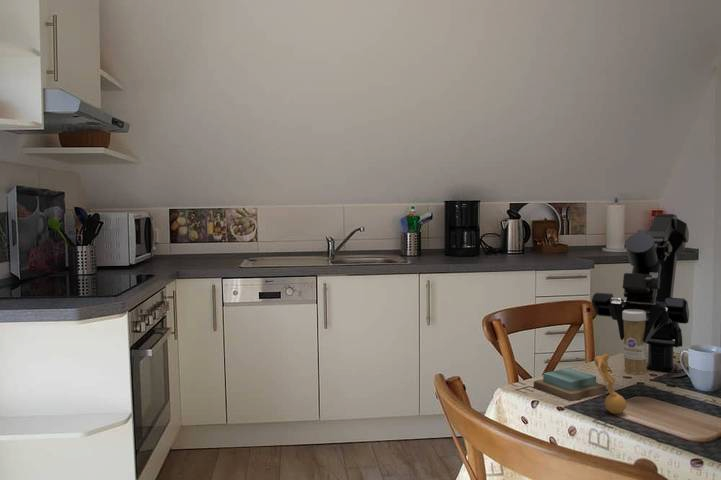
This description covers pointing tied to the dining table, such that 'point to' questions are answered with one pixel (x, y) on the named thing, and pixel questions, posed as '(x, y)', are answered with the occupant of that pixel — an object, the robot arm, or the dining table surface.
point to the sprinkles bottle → (634, 342)
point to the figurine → (614, 400)
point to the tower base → (570, 393)
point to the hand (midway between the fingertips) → (632, 340)
